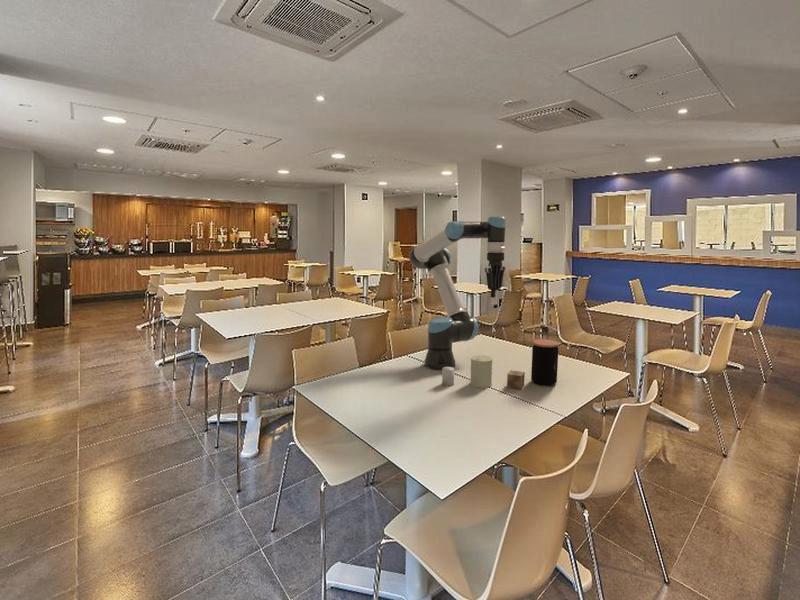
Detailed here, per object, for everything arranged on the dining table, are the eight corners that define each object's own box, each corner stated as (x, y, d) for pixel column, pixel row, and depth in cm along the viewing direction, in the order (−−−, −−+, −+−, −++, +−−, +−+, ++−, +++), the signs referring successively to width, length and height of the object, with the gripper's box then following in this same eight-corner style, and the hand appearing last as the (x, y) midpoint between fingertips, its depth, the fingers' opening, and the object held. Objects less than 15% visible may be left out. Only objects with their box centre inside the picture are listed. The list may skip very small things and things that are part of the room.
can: (465, 384, 185) (466, 357, 184) (477, 379, 192) (478, 353, 190) (484, 389, 179) (485, 361, 177) (495, 383, 186) (496, 357, 184)
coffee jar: (558, 387, 181) (560, 345, 178) (532, 385, 183) (533, 344, 181) (554, 379, 191) (556, 339, 189) (529, 377, 194) (531, 338, 191)
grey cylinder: (439, 384, 186) (440, 368, 185) (447, 381, 189) (447, 366, 188) (448, 387, 182) (449, 371, 181) (456, 384, 186) (456, 368, 185)
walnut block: (506, 387, 181) (507, 374, 180) (509, 383, 187) (510, 370, 186) (521, 390, 179) (522, 376, 178) (524, 385, 184) (524, 372, 183)
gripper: (494, 252, 185) (493, 306, 188) (511, 251, 194) (509, 303, 197) (480, 252, 190) (478, 305, 193) (496, 251, 199) (495, 301, 202)
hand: (494, 304), depth 195 cm, fingers closed
